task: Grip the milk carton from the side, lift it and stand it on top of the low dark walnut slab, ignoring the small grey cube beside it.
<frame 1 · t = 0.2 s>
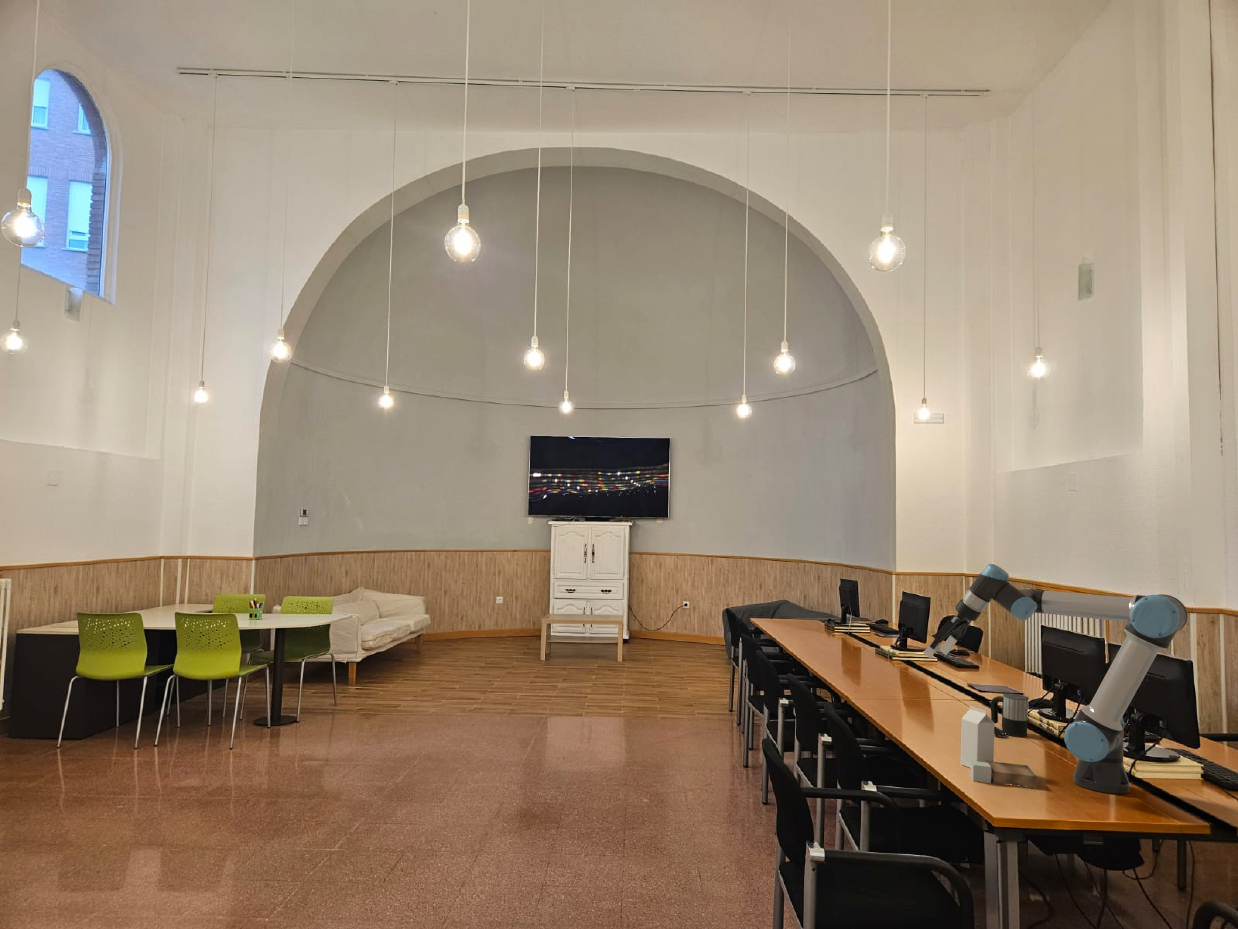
hand: (935, 654, 282), 35 cm above the table, tool tilted 35°, fingers open, 13 cm apart
milk carton: (976, 767, 271), on the table
walnut block: (1010, 781, 259), on the table
grey cube: (980, 780, 257), on the table
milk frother: (1007, 735, 319), on the table
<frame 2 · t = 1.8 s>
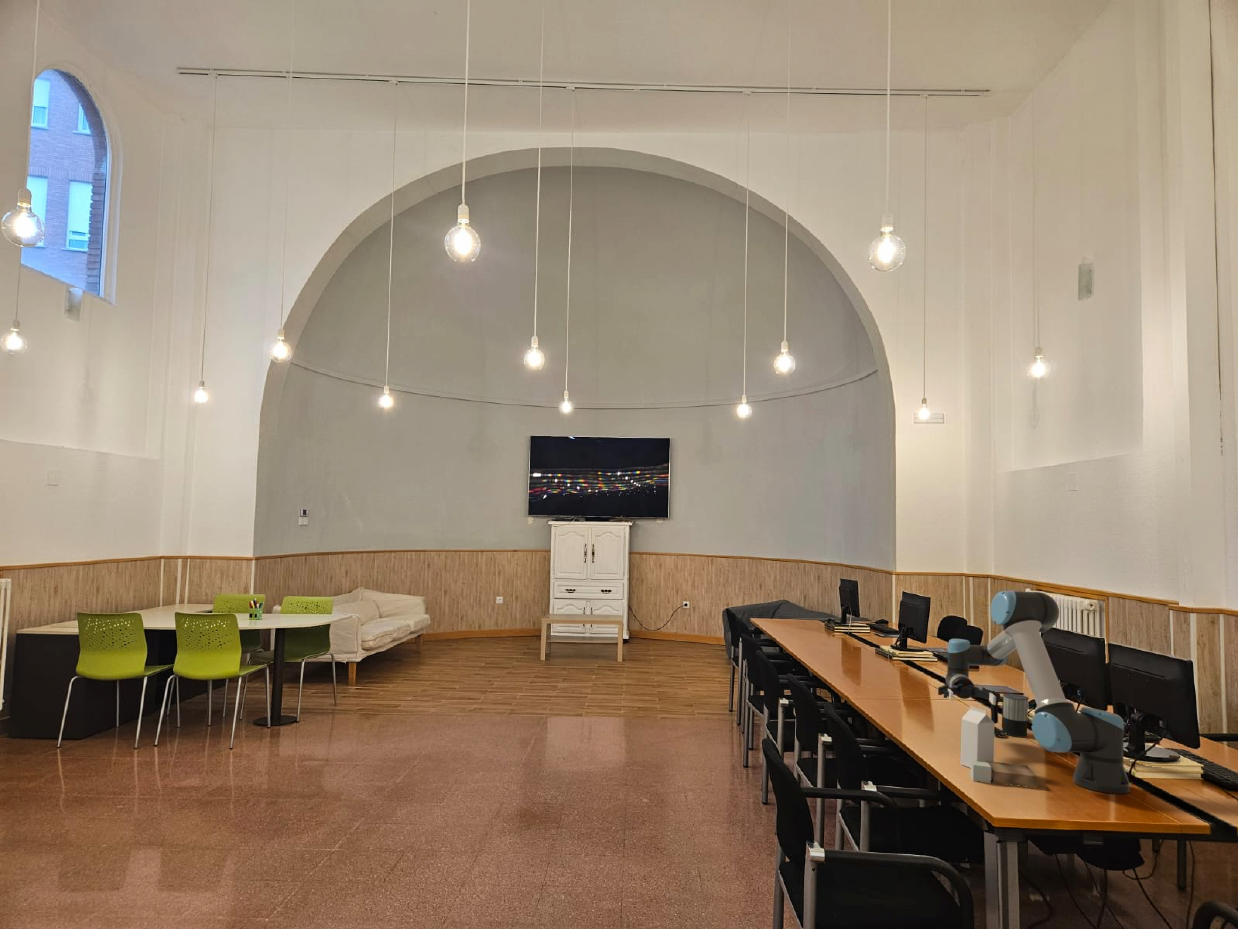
hand: (973, 698, 282), 20 cm above the table, tool horizontal, fingers open, 13 cm apart
nothing on the table moved.
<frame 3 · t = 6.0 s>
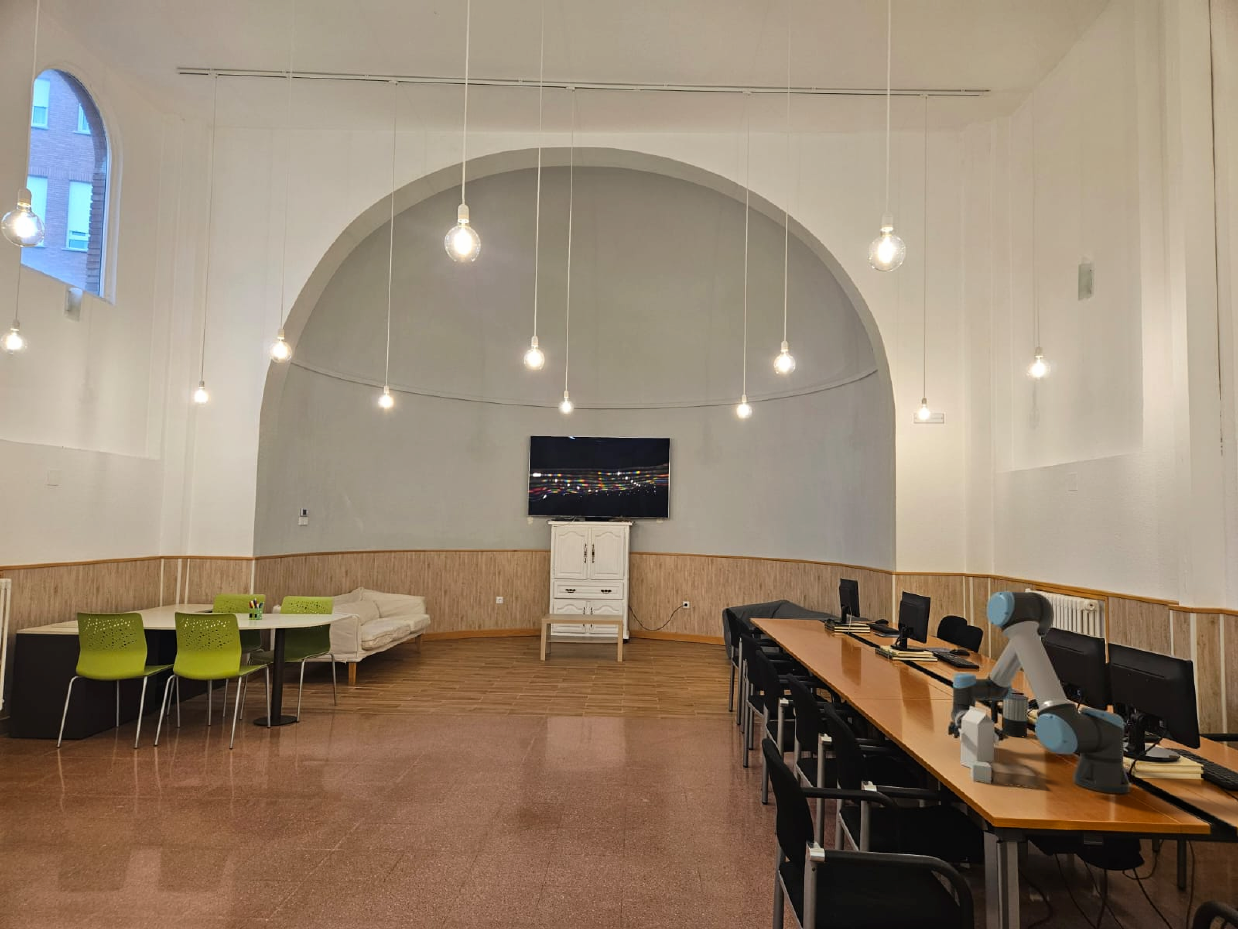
hand: (979, 739, 268), 10 cm above the table, tool horizontal, fingers closed on milk carton, 10 cm apart
milk carton: (976, 767, 271), on the table, touching gripper
everything else where it was.
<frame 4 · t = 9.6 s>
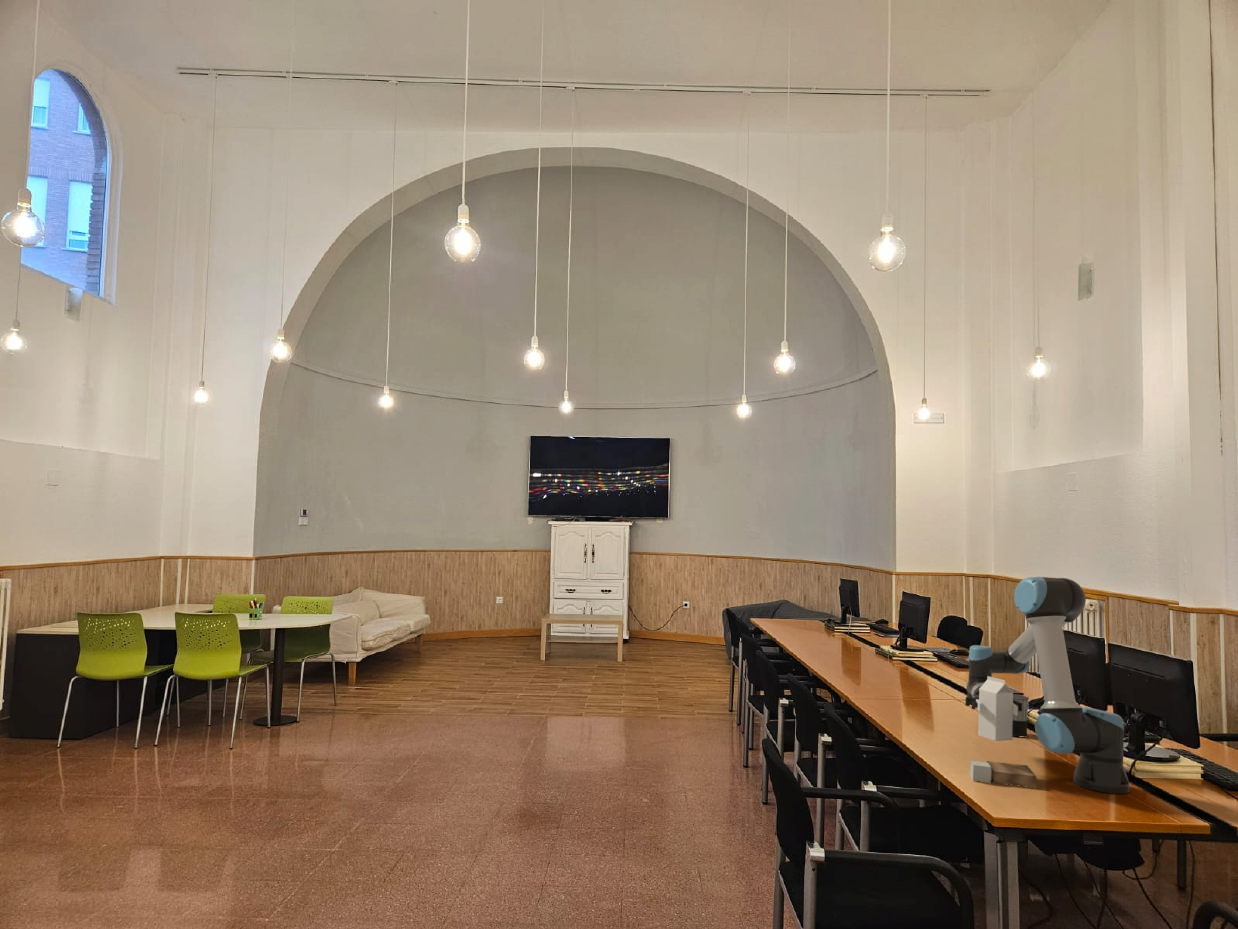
hand: (998, 709, 262), 21 cm above the table, tool horizontal, fingers closed on milk carton, 10 cm apart
milk carton: (995, 738, 266), point 11 cm above the table, touching gripper
everything else where it was.
when the fingers open (16 cm above the table, at t = 13.1 s): milk carton drops 2 cm, resting on walnut block.
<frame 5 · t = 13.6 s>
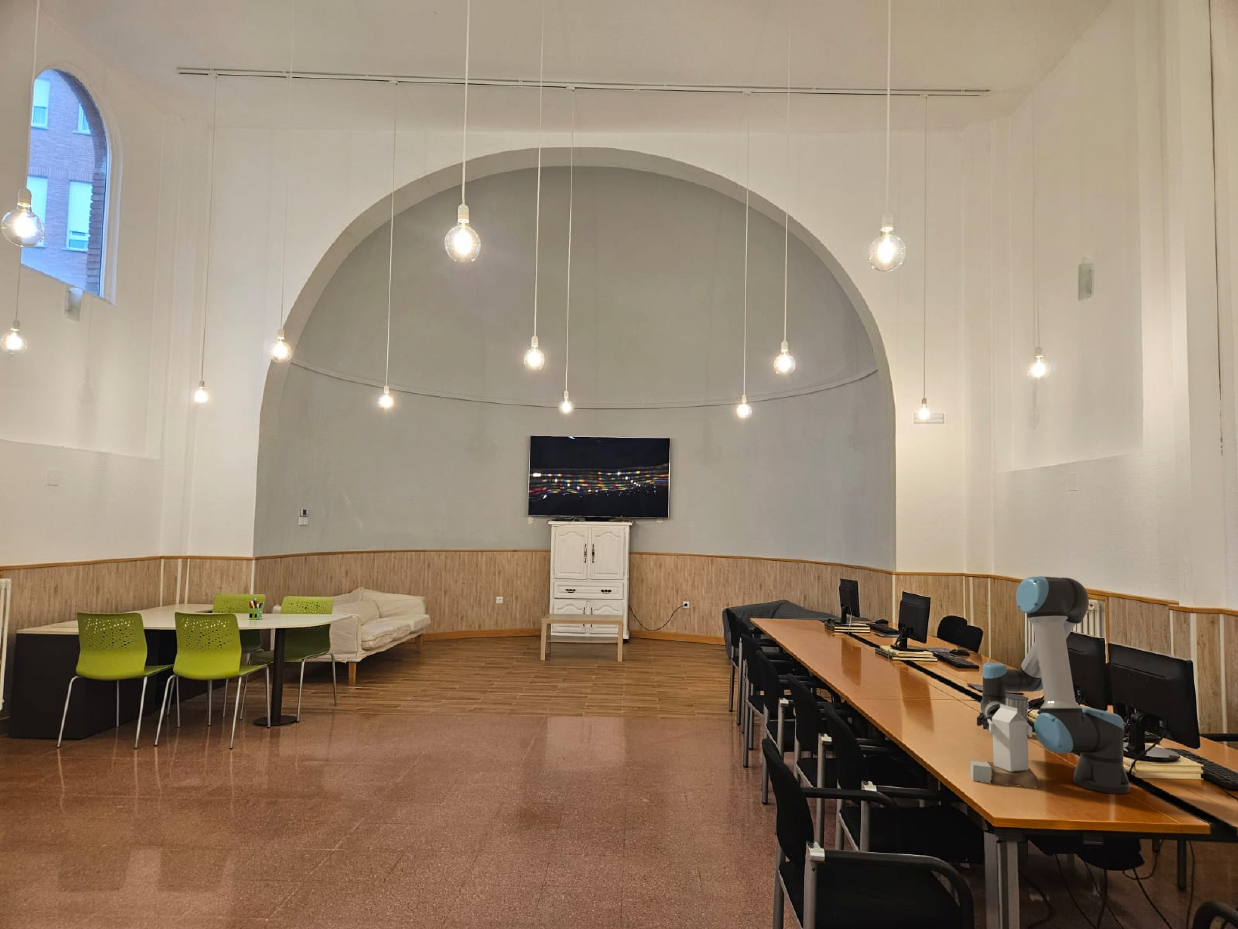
hand: (1011, 730, 256), 16 cm above the table, tool horizontal, fingers open, 10 cm apart
milk carton: (1011, 768, 259), point 3 cm above the table, touching gripper, walnut block
walnut block: (1011, 782, 259), on the table, touching milk carton
everything else where it was.
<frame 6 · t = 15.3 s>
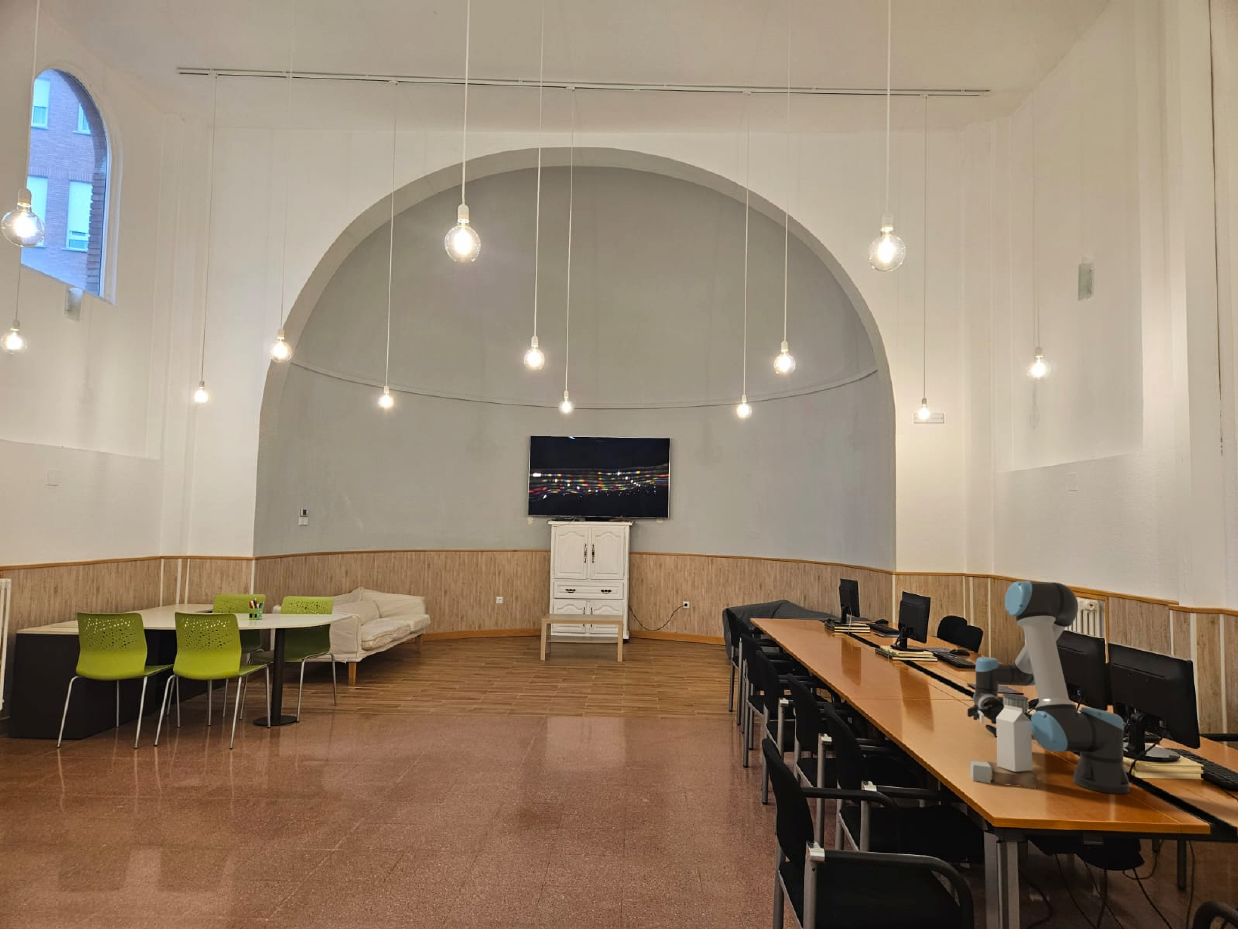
hand: (1005, 721, 268), 16 cm above the table, tool horizontal, fingers open, 13 cm apart
milk carton: (1014, 769, 258), point 3 cm above the table
walnut block: (1011, 782, 259), on the table
everything else where it was.
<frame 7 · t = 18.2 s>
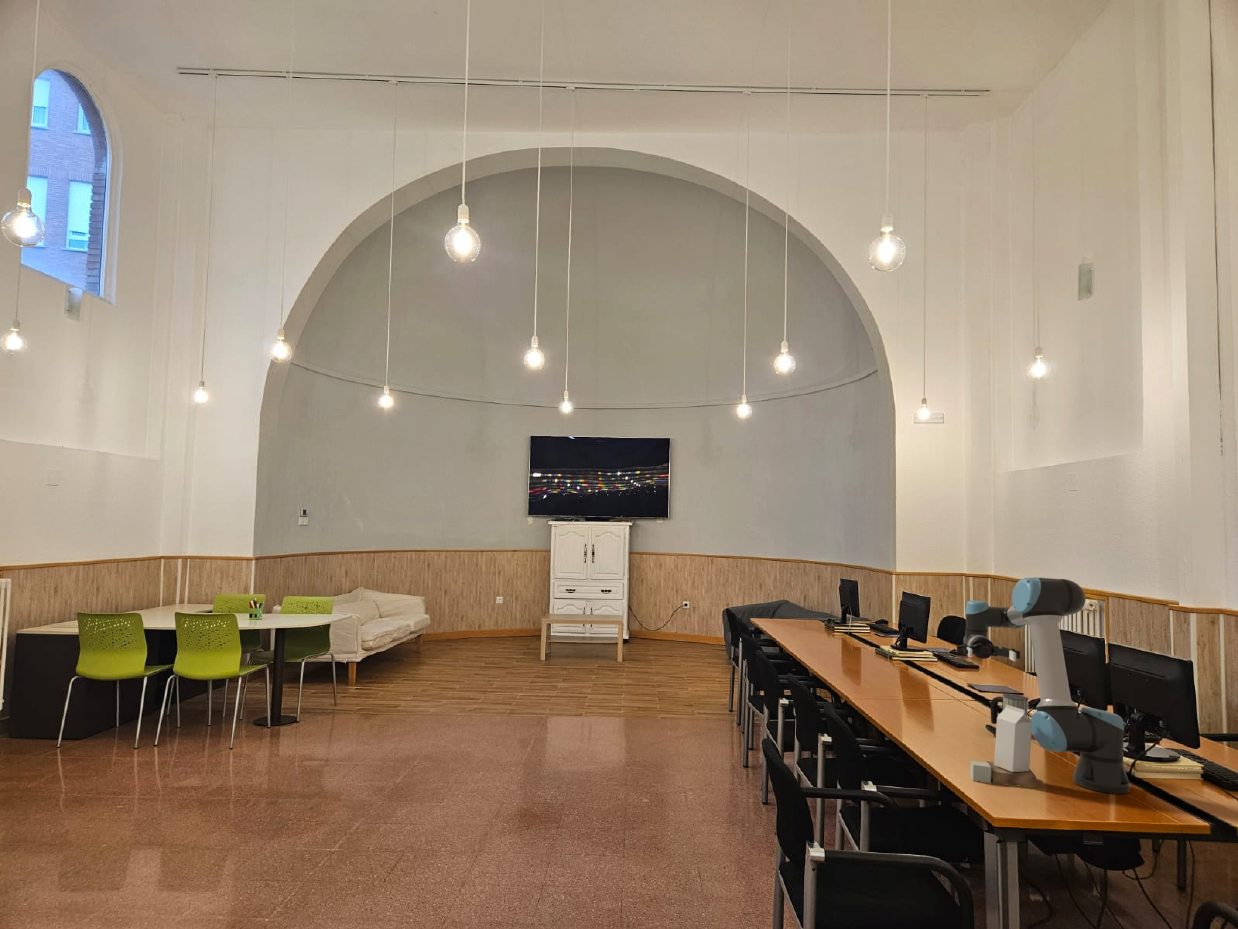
hand: (992, 655, 277), 36 cm above the table, tool horizontal, fingers open, 13 cm apart
milk carton: (1011, 769, 258), point 3 cm above the table
at the end: milk carton inside the target area on the walnut block (0.5 cm from its centre), point 3.9 cm above the walnut block's base; milk carton tilted 2°; the gripper is holding nothing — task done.
